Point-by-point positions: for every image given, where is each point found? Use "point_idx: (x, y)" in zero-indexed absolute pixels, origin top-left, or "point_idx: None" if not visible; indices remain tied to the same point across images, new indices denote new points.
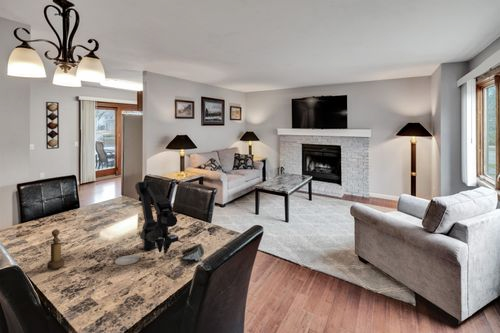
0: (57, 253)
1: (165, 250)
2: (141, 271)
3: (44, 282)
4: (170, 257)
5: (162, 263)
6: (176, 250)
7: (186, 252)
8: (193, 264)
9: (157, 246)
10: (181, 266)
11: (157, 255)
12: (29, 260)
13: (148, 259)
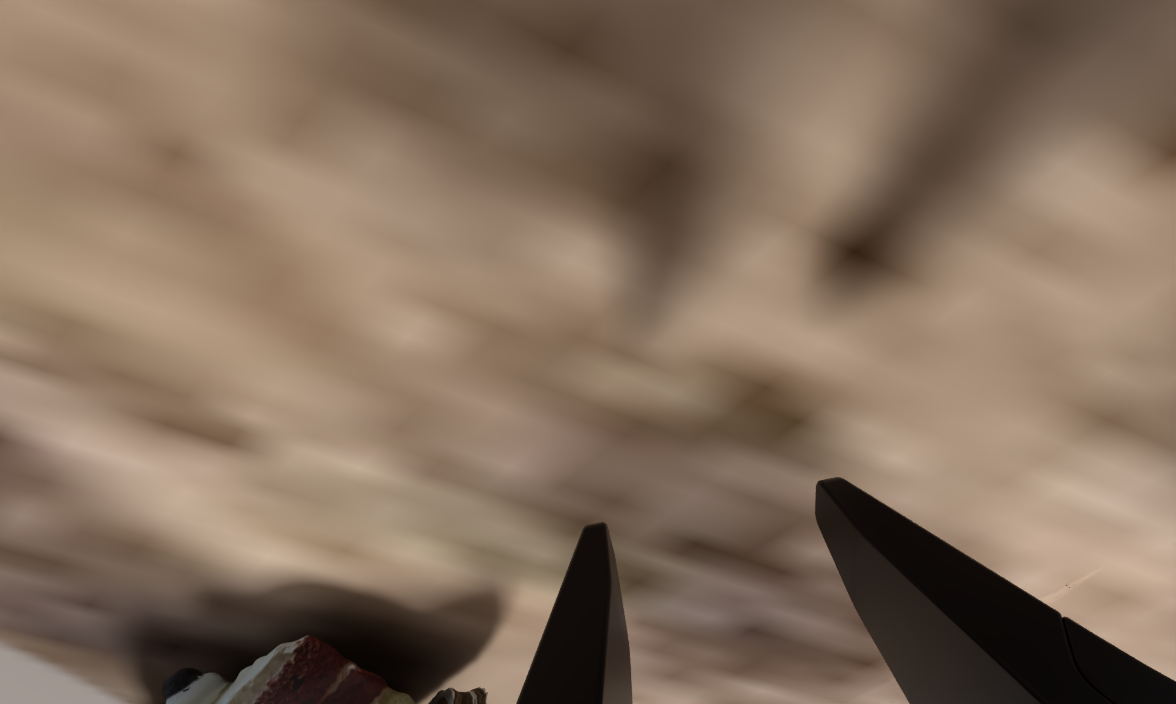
0: None
1: (555, 638)
2: None
3: None
4: (623, 533)
5: (405, 310)
6: (831, 675)
7: None
8: (30, 651)
9: (1031, 619)
10: (3, 509)
11: (945, 413)
12: None
13: (939, 161)
